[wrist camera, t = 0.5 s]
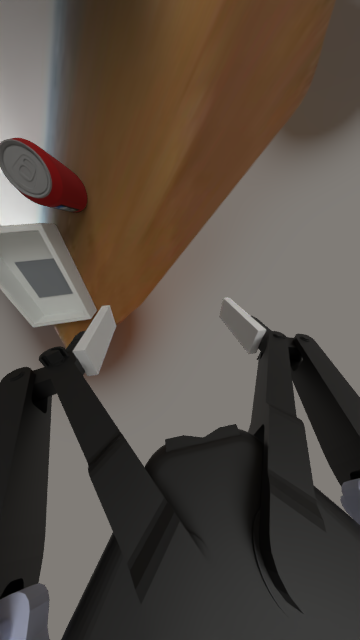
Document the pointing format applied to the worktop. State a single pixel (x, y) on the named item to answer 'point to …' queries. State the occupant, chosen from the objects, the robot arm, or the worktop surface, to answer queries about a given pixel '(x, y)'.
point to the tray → (42, 275)
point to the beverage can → (41, 176)
